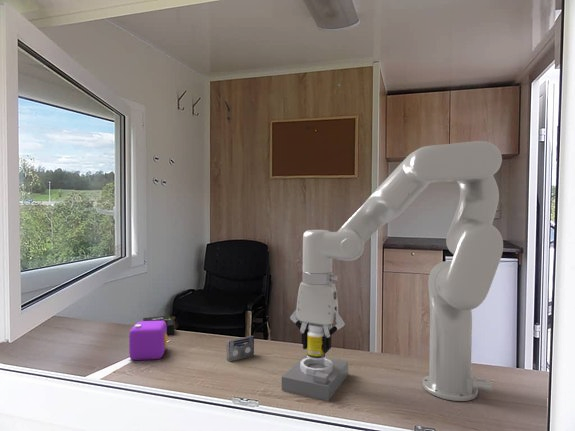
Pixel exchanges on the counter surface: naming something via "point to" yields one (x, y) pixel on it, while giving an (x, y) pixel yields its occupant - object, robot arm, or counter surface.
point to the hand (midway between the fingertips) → (316, 348)
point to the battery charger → (167, 319)
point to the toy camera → (148, 340)
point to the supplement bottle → (315, 342)
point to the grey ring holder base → (315, 377)
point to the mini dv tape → (240, 348)
